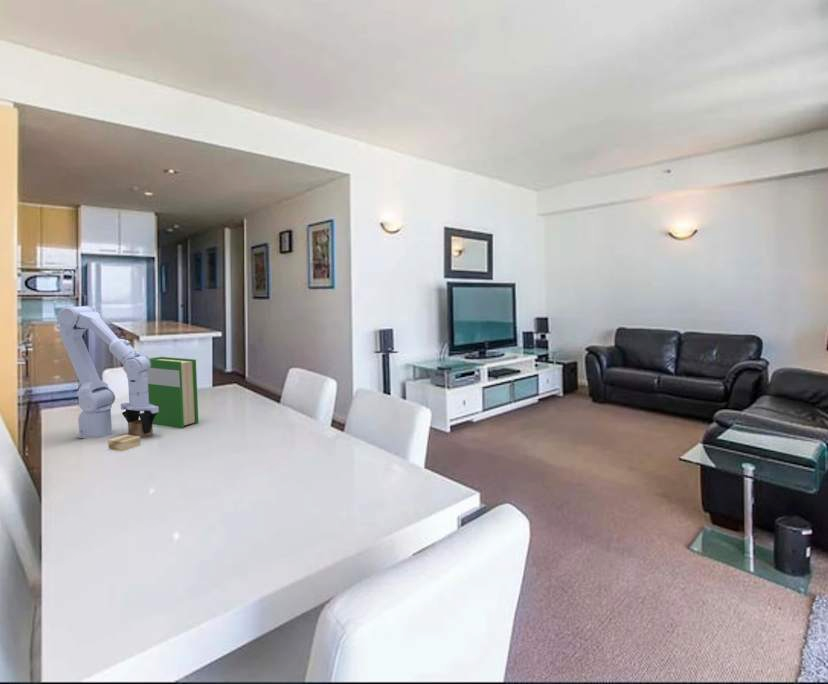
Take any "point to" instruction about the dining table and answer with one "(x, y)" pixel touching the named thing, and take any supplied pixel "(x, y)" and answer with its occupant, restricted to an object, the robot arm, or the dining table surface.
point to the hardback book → (173, 391)
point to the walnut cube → (137, 429)
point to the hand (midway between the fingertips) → (140, 432)
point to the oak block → (124, 442)
